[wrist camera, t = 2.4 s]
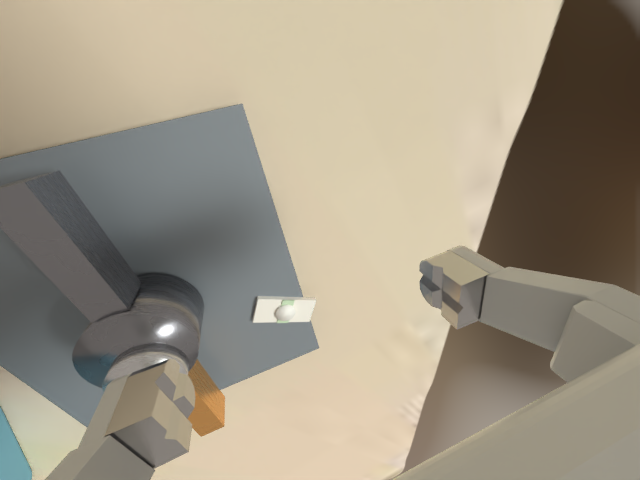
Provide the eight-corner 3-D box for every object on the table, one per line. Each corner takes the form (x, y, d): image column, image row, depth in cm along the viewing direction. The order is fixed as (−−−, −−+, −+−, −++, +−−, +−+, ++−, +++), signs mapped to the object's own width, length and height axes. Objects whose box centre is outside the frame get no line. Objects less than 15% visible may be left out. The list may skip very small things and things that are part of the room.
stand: (-172, 198, 12) (-247, 214, 10) (256, 100, 16) (260, 99, 14) (110, 421, 23) (100, 448, 21) (323, 333, 27) (330, 349, 25)
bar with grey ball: (-15, 186, 12) (-145, 227, 8) (118, 154, 13) (65, 174, 9) (180, 401, 22) (169, 470, 18) (247, 373, 23) (251, 432, 19)
